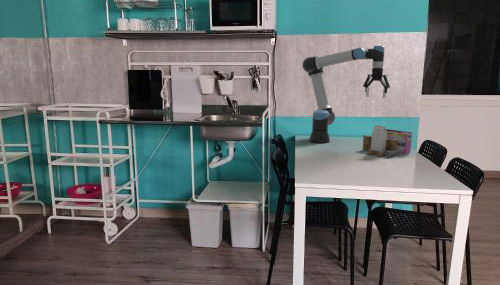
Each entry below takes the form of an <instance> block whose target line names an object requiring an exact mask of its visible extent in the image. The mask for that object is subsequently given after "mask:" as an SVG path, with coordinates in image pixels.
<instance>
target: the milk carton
mask: <svg viewBox="0 0 500 285" xmlns="http://www.w3.org/2000/svg"><path fill="white" fill-rule="evenodd" d="M386 129H387V127H386V125H378V124H374V127H373V129H372V131H371V136H372V140H371V150H373V151H379V152H383V155H385V151H386V138H387V130H386Z"/></svg>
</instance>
